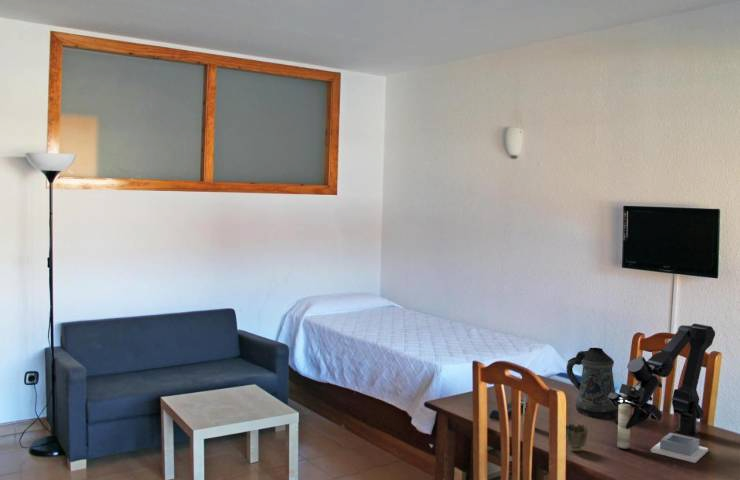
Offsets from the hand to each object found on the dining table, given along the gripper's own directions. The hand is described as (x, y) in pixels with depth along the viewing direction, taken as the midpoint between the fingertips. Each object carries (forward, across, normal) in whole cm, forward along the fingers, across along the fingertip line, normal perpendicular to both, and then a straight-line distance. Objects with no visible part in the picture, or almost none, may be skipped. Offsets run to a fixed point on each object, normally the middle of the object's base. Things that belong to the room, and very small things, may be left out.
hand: (621, 426), depth 232 cm
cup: (+16, -6, -5) cm, 18 cm away
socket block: (-6, +11, +17) cm, 21 cm away
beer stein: (-10, -33, +22) cm, 41 cm away
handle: (+14, -31, -3) cm, 35 cm away
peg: (+4, 0, +6) cm, 7 cm away
